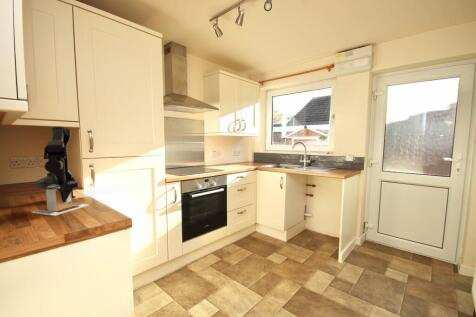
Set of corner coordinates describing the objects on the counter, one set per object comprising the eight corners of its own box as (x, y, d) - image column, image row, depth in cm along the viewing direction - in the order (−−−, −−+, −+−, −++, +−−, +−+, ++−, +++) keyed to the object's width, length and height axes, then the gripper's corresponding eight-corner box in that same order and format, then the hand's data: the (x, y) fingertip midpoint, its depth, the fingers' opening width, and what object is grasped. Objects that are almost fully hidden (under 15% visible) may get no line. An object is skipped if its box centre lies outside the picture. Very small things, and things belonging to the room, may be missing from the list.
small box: (56, 211, 103) (55, 189, 102) (47, 211, 104) (45, 189, 103) (72, 206, 111) (71, 186, 110) (63, 205, 112) (62, 185, 111)
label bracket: (31, 212, 102) (31, 211, 102) (67, 202, 117) (67, 202, 117) (54, 215, 97) (54, 214, 97) (88, 205, 113) (88, 204, 112)
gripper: (24, 171, 101) (27, 204, 102) (52, 173, 95) (55, 208, 97) (50, 168, 112) (53, 198, 113) (77, 169, 106) (80, 201, 107)
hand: (59, 201), depth 107 cm, fingers closed on small box, 6 cm apart
